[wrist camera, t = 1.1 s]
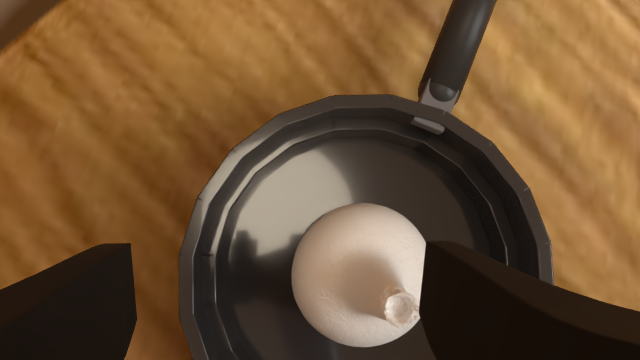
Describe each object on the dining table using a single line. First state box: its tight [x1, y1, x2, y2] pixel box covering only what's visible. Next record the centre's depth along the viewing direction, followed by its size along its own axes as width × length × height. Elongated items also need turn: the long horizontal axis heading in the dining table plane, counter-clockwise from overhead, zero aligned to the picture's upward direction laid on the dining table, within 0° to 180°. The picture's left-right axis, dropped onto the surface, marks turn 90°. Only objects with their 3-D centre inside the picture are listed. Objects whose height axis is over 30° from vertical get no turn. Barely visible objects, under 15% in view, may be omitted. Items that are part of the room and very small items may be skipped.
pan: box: [179, 94, 554, 360], centre depth 21 cm, size 15×15×4 cm
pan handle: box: [410, 0, 497, 135], centre depth 21 cm, size 11×2×2 cm, turn 158°
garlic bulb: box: [291, 203, 426, 347], centre depth 19 cm, size 6×6×8 cm
